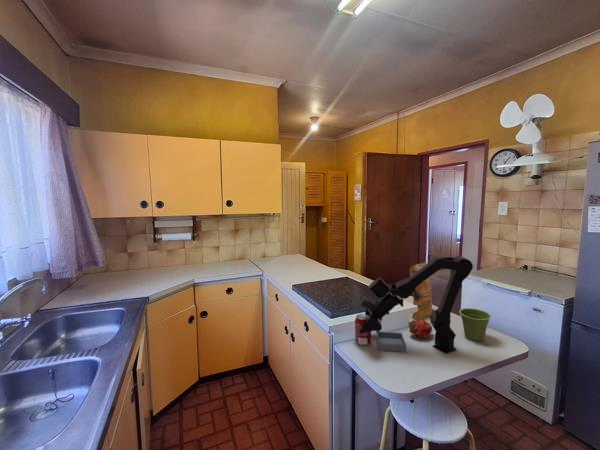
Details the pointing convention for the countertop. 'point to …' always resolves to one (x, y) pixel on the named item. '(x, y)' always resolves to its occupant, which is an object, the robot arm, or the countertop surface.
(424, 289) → the pancake mix bag
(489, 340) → the countertop surface
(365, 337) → the soda can
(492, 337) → the countertop surface
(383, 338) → the box
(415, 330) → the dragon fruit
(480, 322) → the plant pot
